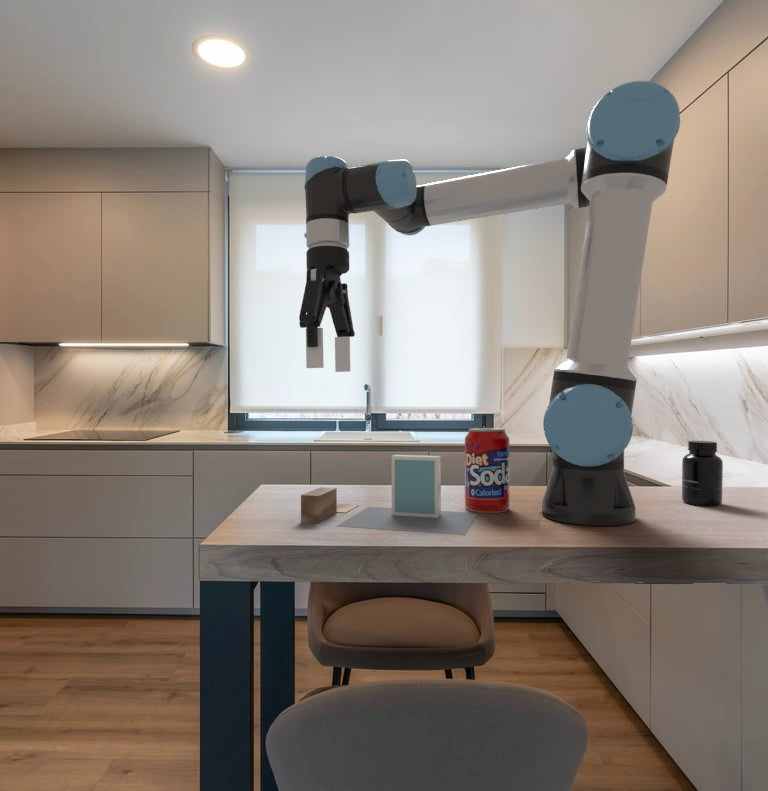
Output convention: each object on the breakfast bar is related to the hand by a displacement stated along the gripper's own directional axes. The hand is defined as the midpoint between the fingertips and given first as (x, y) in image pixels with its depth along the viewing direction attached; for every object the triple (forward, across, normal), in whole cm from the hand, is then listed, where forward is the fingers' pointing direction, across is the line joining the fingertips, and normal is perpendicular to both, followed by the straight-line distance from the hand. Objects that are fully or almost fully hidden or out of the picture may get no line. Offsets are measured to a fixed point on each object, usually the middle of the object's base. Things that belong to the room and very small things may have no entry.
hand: (329, 370), depth 99 cm
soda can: (+26, -9, +26) cm, 38 cm away
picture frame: (+25, -1, +15) cm, 29 cm away
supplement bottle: (+27, -28, +65) cm, 76 cm away
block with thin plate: (+25, +2, 0) cm, 26 cm away
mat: (+26, +3, +15) cm, 30 cm away
